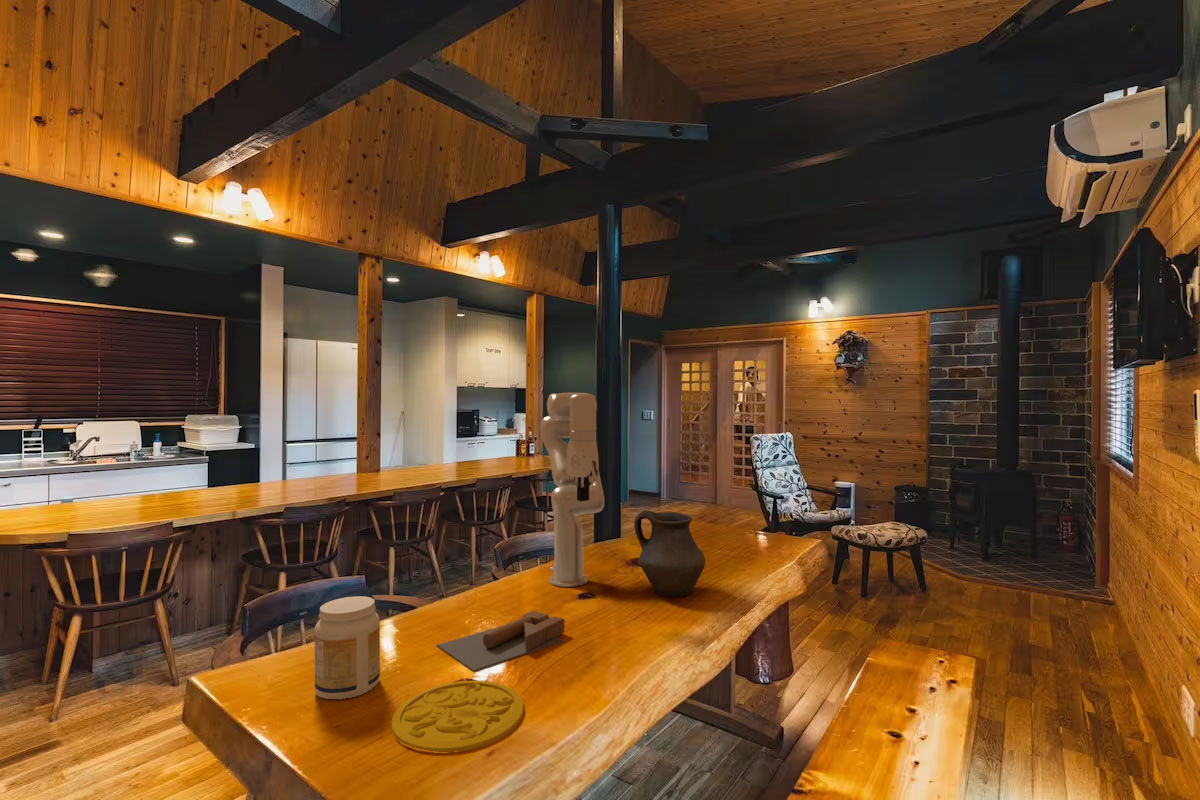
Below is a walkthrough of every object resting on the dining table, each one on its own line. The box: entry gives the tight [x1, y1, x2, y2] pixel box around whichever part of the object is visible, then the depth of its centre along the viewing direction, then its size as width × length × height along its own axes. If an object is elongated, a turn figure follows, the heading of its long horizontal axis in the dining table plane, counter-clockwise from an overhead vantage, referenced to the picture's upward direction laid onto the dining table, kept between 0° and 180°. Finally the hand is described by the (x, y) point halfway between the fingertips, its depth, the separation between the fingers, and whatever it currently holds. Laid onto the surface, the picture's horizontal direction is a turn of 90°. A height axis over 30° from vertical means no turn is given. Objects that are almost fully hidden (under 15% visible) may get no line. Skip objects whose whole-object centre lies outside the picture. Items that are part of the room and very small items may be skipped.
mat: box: [436, 625, 563, 673], centre depth 137 cm, size 18×24×1 cm
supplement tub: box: [313, 595, 381, 700], centre depth 116 cm, size 12×12×17 cm
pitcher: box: [633, 510, 706, 598], centre depth 175 cm, size 21×22×25 cm
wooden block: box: [483, 610, 565, 652], centre depth 138 cm, size 4×11×18 cm
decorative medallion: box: [391, 680, 524, 752], centre depth 105 cm, size 24×24×2 cm
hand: (583, 500), depth 163 cm, fingers closed
